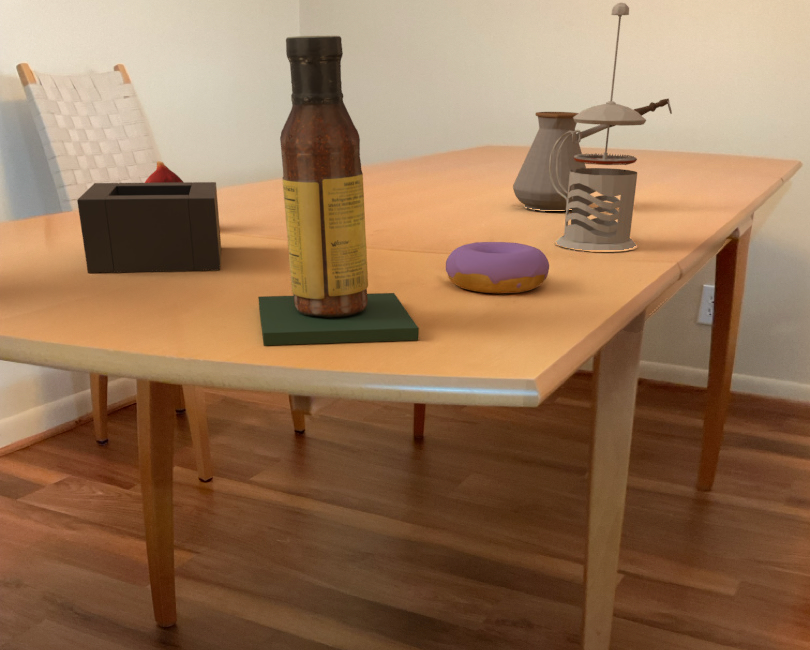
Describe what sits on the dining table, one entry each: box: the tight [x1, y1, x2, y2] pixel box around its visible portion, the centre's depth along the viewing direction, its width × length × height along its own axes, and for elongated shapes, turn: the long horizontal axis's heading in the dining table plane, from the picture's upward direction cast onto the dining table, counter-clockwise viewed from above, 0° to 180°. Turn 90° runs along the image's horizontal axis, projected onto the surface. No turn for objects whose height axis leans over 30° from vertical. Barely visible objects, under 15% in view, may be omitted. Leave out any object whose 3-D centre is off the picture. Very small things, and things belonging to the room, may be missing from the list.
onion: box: [144, 160, 184, 183], centre depth 113 cm, size 6×6×8 cm
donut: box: [445, 241, 550, 294], centre depth 88 cm, size 10×9×5 cm
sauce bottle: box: [279, 35, 369, 318], centre depth 71 cm, size 7×6×20 cm
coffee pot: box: [512, 97, 673, 210], centre depth 131 cm, size 21×12×15 cm, turn 80°
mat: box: [258, 292, 420, 346], centre depth 75 cm, size 12×12×1 cm
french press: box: [549, 2, 647, 250], centre depth 104 cm, size 10×12×25 cm
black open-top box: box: [76, 181, 222, 274], centre depth 97 cm, size 13×13×7 cm
